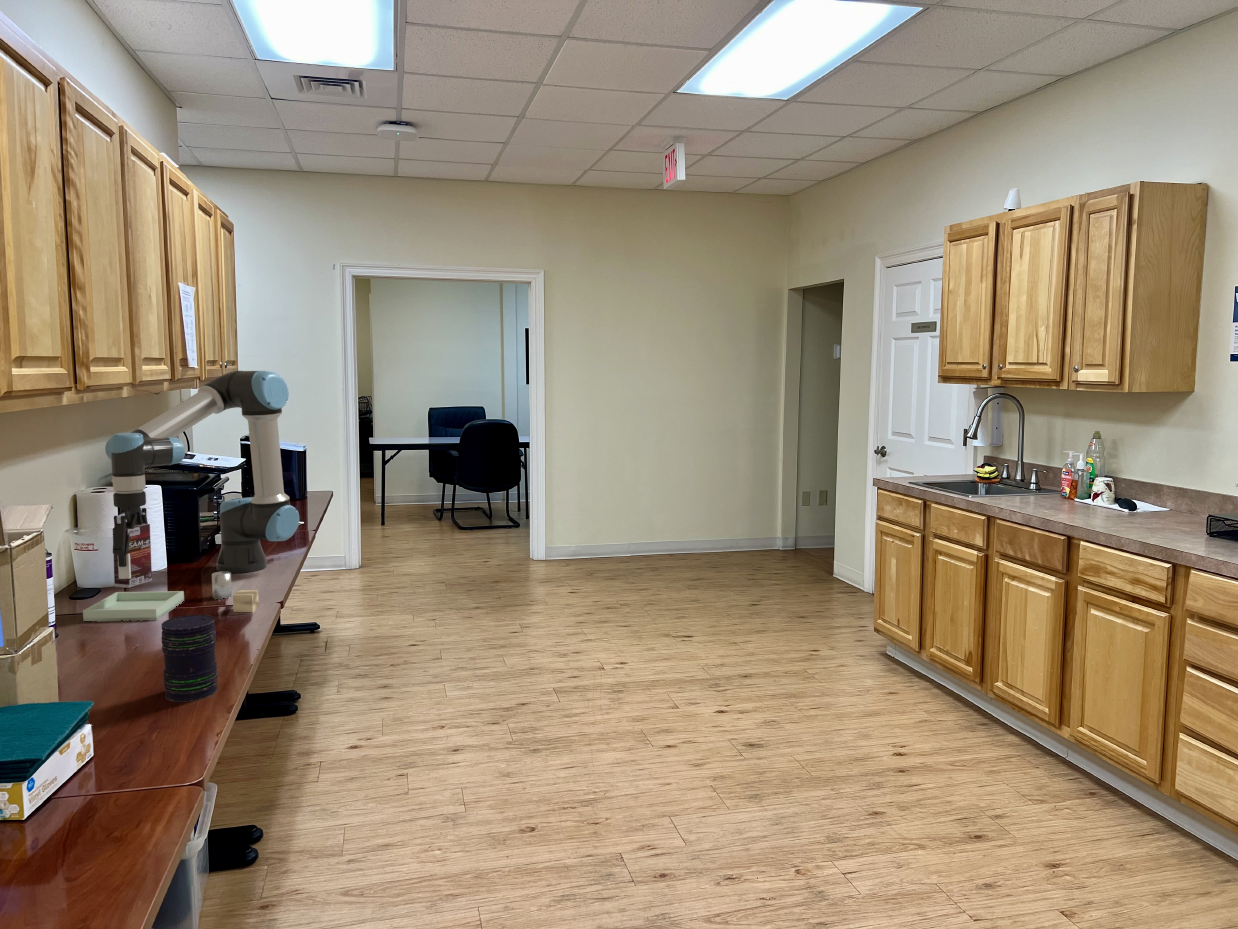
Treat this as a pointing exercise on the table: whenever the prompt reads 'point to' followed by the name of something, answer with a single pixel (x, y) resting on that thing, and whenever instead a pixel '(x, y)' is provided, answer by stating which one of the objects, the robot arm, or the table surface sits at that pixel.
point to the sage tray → (134, 606)
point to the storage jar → (189, 657)
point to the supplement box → (136, 557)
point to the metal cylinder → (221, 585)
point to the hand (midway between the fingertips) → (133, 573)
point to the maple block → (245, 601)
